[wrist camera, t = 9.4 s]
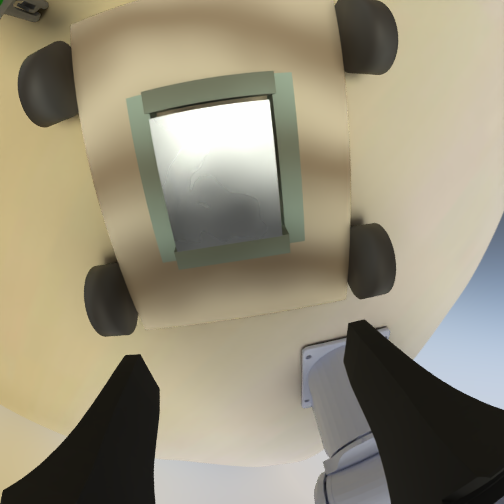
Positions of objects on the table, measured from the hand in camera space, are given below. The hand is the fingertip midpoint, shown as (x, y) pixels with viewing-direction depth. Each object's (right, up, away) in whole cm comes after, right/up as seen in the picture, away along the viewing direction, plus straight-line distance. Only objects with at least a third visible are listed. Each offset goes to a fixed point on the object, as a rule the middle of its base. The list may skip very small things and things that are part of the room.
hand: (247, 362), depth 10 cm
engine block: (-2, +9, +5) cm, 10 cm away
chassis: (-2, +9, +6) cm, 11 cm away
